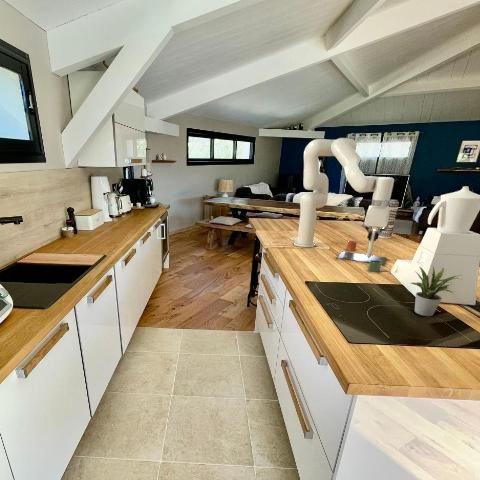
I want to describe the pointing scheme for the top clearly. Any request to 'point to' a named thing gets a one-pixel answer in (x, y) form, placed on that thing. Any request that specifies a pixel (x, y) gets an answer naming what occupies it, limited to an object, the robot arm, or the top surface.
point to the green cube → (374, 266)
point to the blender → (448, 250)
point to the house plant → (430, 292)
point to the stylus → (371, 243)
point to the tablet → (360, 257)
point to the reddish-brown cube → (351, 245)
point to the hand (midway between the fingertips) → (372, 240)
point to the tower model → (390, 220)
